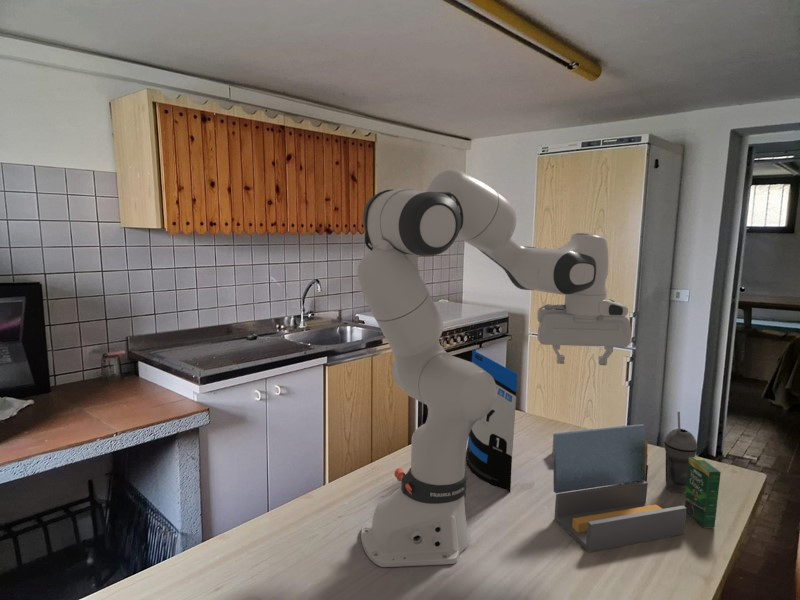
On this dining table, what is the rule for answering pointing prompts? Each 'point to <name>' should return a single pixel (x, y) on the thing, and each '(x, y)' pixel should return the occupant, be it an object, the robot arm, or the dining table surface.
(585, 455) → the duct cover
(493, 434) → the protein powder
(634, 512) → the amber wooden bar
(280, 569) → the dining table surface
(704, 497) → the coffee box
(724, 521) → the dining table surface
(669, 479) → the beverage cup
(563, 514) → the duct trough
